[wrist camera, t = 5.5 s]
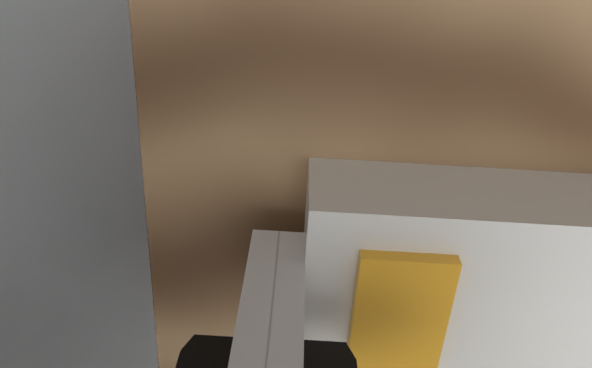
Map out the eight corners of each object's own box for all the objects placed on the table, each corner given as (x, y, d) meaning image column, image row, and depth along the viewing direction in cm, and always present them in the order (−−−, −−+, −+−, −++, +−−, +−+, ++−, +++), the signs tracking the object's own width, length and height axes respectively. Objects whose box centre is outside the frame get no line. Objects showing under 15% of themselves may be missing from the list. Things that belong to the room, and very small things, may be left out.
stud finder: (595, 336, 18) (651, 423, 15) (297, 319, 18) (294, 403, 15) (660, 177, 15) (745, 245, 12) (309, 157, 15) (309, 219, 12)
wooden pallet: (697, 463, 28) (762, 557, 24) (191, 434, 28) (171, 523, 24) (1199, -343, 13) (1576, -447, 9) (151, -415, 13) (82, -550, 9)
